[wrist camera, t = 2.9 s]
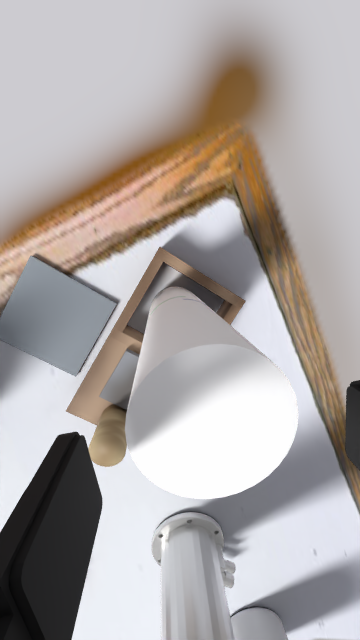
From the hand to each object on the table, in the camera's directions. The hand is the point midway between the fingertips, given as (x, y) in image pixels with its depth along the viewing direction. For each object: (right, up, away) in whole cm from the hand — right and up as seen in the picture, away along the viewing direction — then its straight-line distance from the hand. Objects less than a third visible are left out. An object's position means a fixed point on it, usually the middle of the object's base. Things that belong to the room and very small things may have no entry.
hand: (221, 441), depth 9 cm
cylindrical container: (-2, +5, +26) cm, 27 cm away
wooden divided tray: (-5, 0, +27) cm, 27 cm away
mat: (-18, +4, +25) cm, 31 cm away
